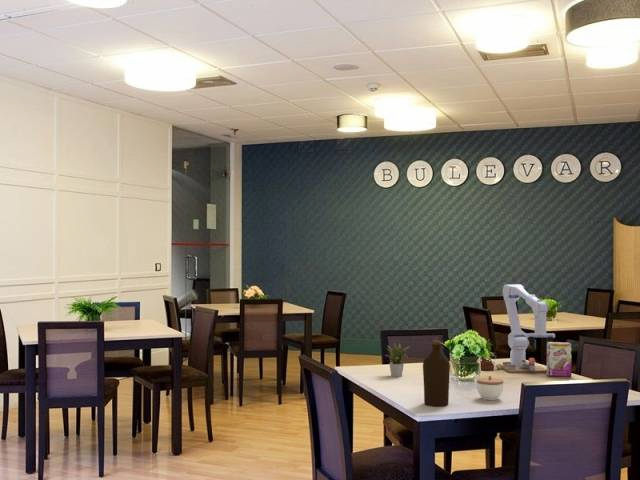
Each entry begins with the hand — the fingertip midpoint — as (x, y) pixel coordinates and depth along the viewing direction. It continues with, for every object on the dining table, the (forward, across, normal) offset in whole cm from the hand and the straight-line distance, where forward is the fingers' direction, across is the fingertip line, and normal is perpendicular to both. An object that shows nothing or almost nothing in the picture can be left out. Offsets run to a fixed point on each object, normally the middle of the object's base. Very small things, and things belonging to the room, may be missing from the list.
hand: (540, 351), depth 364 cm
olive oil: (+10, -69, -84) cm, 109 cm away
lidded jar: (+10, -45, -73) cm, 86 cm away
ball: (+10, -21, +3) cm, 23 cm away
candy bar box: (+10, +4, -16) cm, 19 cm away
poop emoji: (+10, -27, +4) cm, 29 cm away
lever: (+8, -8, -1) cm, 12 cm away
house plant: (+10, -76, -19) cm, 79 cm away
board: (+10, -8, 0) cm, 13 cm away
